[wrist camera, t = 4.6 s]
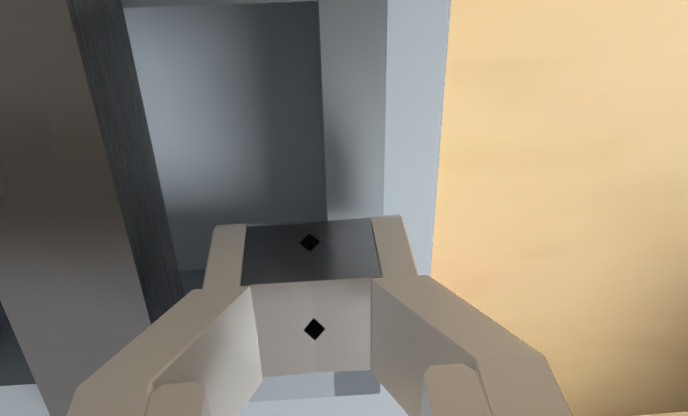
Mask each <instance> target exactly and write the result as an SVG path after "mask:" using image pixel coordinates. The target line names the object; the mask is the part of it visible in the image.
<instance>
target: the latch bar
mask: <svg viewBox="0 0 688 416" xmlns="http://www.w3.org/2000/svg"><path fill="white" fill-rule="evenodd" d="M183 297H184V293H183V288H182V283H181V278H180V274H179V269H178V264H177V260H176V255H175V250H174V246H173V241H172V236H171V232H170V227H169V222H168V218H167V213H166V208H165V203H164V199H163V194H162V189H161V185H160V180H159V175H158V171H157V166H156V161H155V157H154V152H153V147H152V142H151V138H150V133H149V128H148V124H147V119H146V114H145V110H144V105H143V100H142V96H141V91H140V86H139V81H138V77H137V72H136V67H135V63H134V58H133V53H132V49H131V44H130V39H129V35H128V30H127V25H126V20H125V16H124V11H123V6H122V2H121V0H0V301H1V303H2V306H3V308H4V310H5V313H6V315H7V317H8V319H9V322H10V324H11V326H12V329H13V331H14V333H15V336H16V338H17V340H18V343H19V345H20V347H21V350H22V352H23V354H24V357H25V359H26V361H27V363H28V366H29V368H30V370H31V373H32V375H33V377H34V380H35V382H36V384H37V387H38V389H39V391H40V394H41V396H42V398H43V400H44V403H45V405H46V407H47V410H48V412H49V414H50V416H66V415H67V412H68V410H69V407H70V404H71V402H72V399H73V397H74V394H75V391H76V389H77V387H78V386H79V385H80V384H82V383H83V382H84V381H85V380H86V379H87V378H89V377H90V376H91V375H92V374H93V373H95V372H96V371H97V370H98V369H99V368H100V367H102V366H103V365H104V364H105V363H106V362H108V361H109V360H110V359H111V358H112V357H113V356H115V355H116V354H117V353H118V352H119V351H121V350H122V349H123V348H124V347H125V346H126V345H128V344H129V343H130V342H131V341H132V340H134V339H135V338H136V337H137V336H138V335H139V334H141V333H142V332H143V331H144V330H145V329H147V328H148V327H149V326H150V325H151V324H152V323H154V322H155V321H156V320H157V319H158V318H160V317H161V316H162V315H163V314H164V313H165V312H167V311H168V310H169V309H170V308H171V307H173V306H174V305H175V304H176V303H177V302H179V301H180V300H181V299H182V298H183Z"/></svg>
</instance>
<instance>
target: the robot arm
mask: <svg viewBox="0 0 688 416" xmlns="http://www.w3.org/2000/svg"><path fill="white" fill-rule="evenodd" d="M361 370H371V373H372V374H373V375H374V376H375V377H376V378H377V380H378V381H379V382H380V383H381V384H382V385H383V386H384V388H385V389H386V390H387V391H388V392H389V393H390V395H391V396H392V397H393V398H394V399H395V400H396V401H397V403H398V404H399V405H400V406H401V407H402V408H403V410H404V411H405V412H406V413H407V414H408V415H409V416H572V414H571V412H570V409H569V407H568V405H567V403H566V401H565V399H564V397H563V394H562V392H561V390H560V388H559V386H558V384H557V382H556V379H555V377H554V375H553V373H552V371H551V369H550V367H549V365H548V362H547V360H546V358H545V356H544V355H542V354H541V353H540V352H538V351H537V350H535V349H534V348H532V347H531V346H529V345H528V344H527V343H525V342H524V341H522V340H521V339H519V338H518V337H516V336H515V335H514V334H512V333H511V332H509V331H508V330H506V329H505V328H504V327H502V326H501V325H499V324H498V323H496V322H495V321H493V320H492V319H491V318H489V317H488V316H486V315H485V314H483V313H482V312H480V311H479V310H478V309H476V308H475V307H473V306H472V305H470V304H469V303H468V302H466V301H465V300H463V299H462V298H460V297H459V296H457V295H456V294H455V293H453V292H452V291H450V290H449V289H447V288H446V287H445V286H443V285H442V284H440V283H439V282H437V281H436V280H434V279H433V278H432V277H430V276H429V275H419V274H418V270H417V267H416V263H415V260H414V256H413V253H412V249H411V246H410V242H409V238H408V235H407V231H406V228H405V224H404V221H403V217H402V216H401V215H399V214H397V215H386V216H376V217H369V218H356V219H343V220H330V221H317V222H309V221H302V222H275V223H249V224H248V225H247V224H246V223H244V224H228V225H217V226H216V227H215V228H214V230H213V234H212V239H211V245H210V250H209V255H208V260H207V265H206V270H205V276H204V281H203V286H202V289H193V290H192V291H190V292H189V293H188V294H187V295H186V296H184V297H183V298H182V299H181V300H180V301H179V302H177V303H176V304H175V305H174V306H173V307H171V308H170V309H169V310H168V311H167V312H165V313H164V314H163V315H162V316H161V317H160V318H158V319H157V320H156V321H155V322H154V323H152V324H151V325H150V326H149V327H148V328H147V329H145V330H144V331H143V332H142V333H141V334H139V335H138V336H137V337H136V338H135V339H134V340H132V341H131V342H130V343H129V344H128V345H126V346H125V347H124V348H123V349H122V350H121V351H119V352H118V353H117V354H116V355H115V356H113V357H112V358H111V359H110V360H109V361H108V362H106V363H105V364H104V365H103V366H102V367H100V368H99V369H98V370H97V371H96V372H95V373H93V374H92V375H91V376H90V377H89V378H87V379H86V380H85V381H84V382H83V383H82V384H80V385H79V386H78V387H77V389H76V391H75V394H74V397H73V399H72V402H71V404H70V407H69V410H68V412H67V415H66V416H239V414H240V413H241V411H242V410H243V408H244V407H245V406H246V404H247V403H248V401H249V400H250V398H251V397H252V396H253V394H254V393H255V391H256V390H257V388H258V387H259V386H260V384H261V383H262V381H263V377H274V376H284V375H294V374H305V373H315V372H337V371H361ZM635 416H688V411H686V412H673V413H661V414H648V415H635Z"/></svg>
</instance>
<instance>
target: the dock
mask: <svg viewBox="0 0 688 416" xmlns="http://www.w3.org/2000/svg"><path fill="white" fill-rule="evenodd" d="M121 2H122V6H123V11H124V16H125V20H126V25H127V30H128V35H129V39H130V44H131V49H132V53H133V58H134V63H135V67H136V72H137V77H138V81H139V86H140V91H141V96H142V100H143V105H144V110H145V114H146V119H147V124H148V128H149V133H150V138H151V142H152V147H153V152H154V157H155V161H156V166H157V171H158V175H159V180H160V185H161V189H162V194H163V199H164V203H165V208H166V213H167V218H168V222H169V227H170V232H171V236H172V241H173V246H174V250H175V255H176V260H177V264H178V269H179V274H180V278H181V283H182V288H183V293H184V296H186V295H187V294H188V293H189V292H190V291H192V290H193V289H202V286H203V281H204V276H205V270H206V265H207V260H208V255H209V250H210V245H211V239H212V234H213V230H214V228H215V227H216V226H217V225H228V224H244V223H246V224H247V225H248V224H249V223H275V222H302V221H309V222H317V221H330V220H343V219H356V218H369V217H376V216H386V215H397V214H399V215H401V216H402V217H403V221H404V224H405V228H406V231H407V235H408V238H409V242H410V246H411V249H412V253H413V256H414V260H415V263H416V267H417V270H418V274H419V275H429V276H430V272H431V259H432V245H433V232H434V219H435V205H436V192H437V178H438V165H439V152H440V138H441V125H442V111H443V98H444V85H445V71H446V58H447V44H448V31H449V18H450V4H451V0H121ZM0 416H50V414H49V412H48V410H47V407H46V405H45V403H44V400H43V398H42V396H41V394H40V391H39V389H38V387H37V384H36V382H35V380H34V377H33V375H32V373H31V370H30V368H29V366H28V363H27V361H26V359H25V357H24V354H23V352H22V350H21V347H20V345H19V343H18V340H17V338H16V336H15V333H14V331H13V329H12V326H11V324H10V322H9V319H8V317H7V315H6V313H5V310H4V308H3V306H2V303H1V301H0ZM239 416H409V415H408V414H407V413H406V412H405V411H404V410H403V408H402V407H401V406H400V405H399V404H398V403H397V401H396V400H395V399H394V398H393V397H392V396H391V395H390V393H389V392H388V391H387V390H386V389H385V388H384V386H383V385H382V384H381V383H380V382H379V381H378V380H377V378H376V377H375V376H374V375H373V374H372V373H371V370H361V371H337V372H315V373H305V374H294V375H284V376H274V377H263V381H262V383H261V384H260V386H259V387H258V388H257V390H256V391H255V393H254V394H253V396H252V397H251V398H250V400H249V401H248V403H247V404H246V406H245V407H244V408H243V410H242V411H241V413H240V414H239Z"/></svg>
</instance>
